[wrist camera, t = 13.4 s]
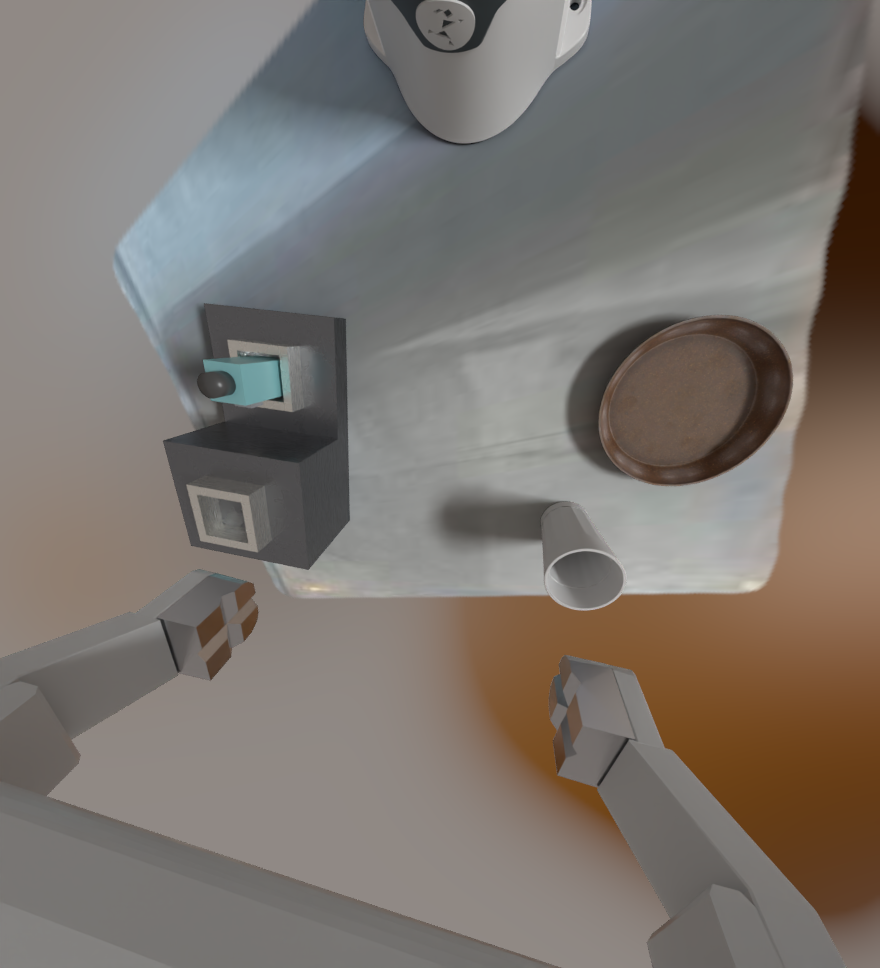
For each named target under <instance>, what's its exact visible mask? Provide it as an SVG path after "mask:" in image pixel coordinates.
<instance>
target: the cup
mask: <svg viewBox="0 0 880 968" xmlns="http://www.w3.org/2000/svg"><path fill="white" fill-rule="evenodd" d="M541 529H542V545H543V563H544V584H545V588H546V590H547V592H548V594H549V595H550V596H551V598H552V599H554V600H555V601H556V602H557V603H559V604H561V605H563V606H565V607H567V608H571V609H575V610H594V609H598V608H601V607H604V606H606V605H608V604H610V603H612V602H613V601H615V600H616V599H617V598H618V597H619V596H620V595H621V593H622V592H623V590H624V588H625V585H626V572H625V569H624V567H623V566H622V564H621V563H620V561H619V560H618V558H617V557H616V556H615V554H614V553H613V551H612V550H611V548H610V547H609V545H608V544H607V542H606V541H605V539H604V538H603V536H602V535H601V533H600V532H599V530H598V529H597V527H596V526H595V524H594V523H593V521H592V520H591V518H590V517H589V515H588V513H587V511H586V510H585V509H584V508H583V507H582V506H581V505H579V504H577V503H574V502H559V503H556V504H553V505H551V506H550V507H548V508H547V509H546V510H545V512H544V513H543V515H542V517H541Z"/></svg>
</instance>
